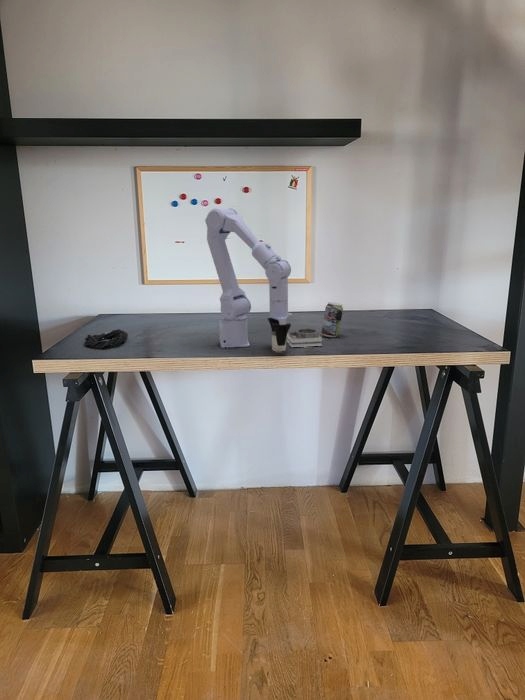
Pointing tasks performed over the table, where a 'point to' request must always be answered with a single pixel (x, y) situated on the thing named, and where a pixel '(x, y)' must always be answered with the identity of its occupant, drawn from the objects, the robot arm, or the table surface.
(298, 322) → the table surface
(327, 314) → the beverage can
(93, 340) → the cable
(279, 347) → the lens
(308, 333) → the square housing with collar
